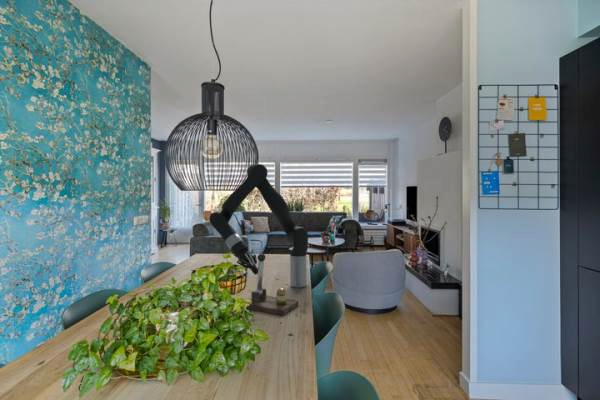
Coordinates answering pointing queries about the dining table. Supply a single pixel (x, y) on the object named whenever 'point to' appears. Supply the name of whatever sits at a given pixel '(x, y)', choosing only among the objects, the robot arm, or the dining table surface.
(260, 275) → the lever
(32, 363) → the dining table surface
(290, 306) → the press base
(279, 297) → the tan rounded cylinder
